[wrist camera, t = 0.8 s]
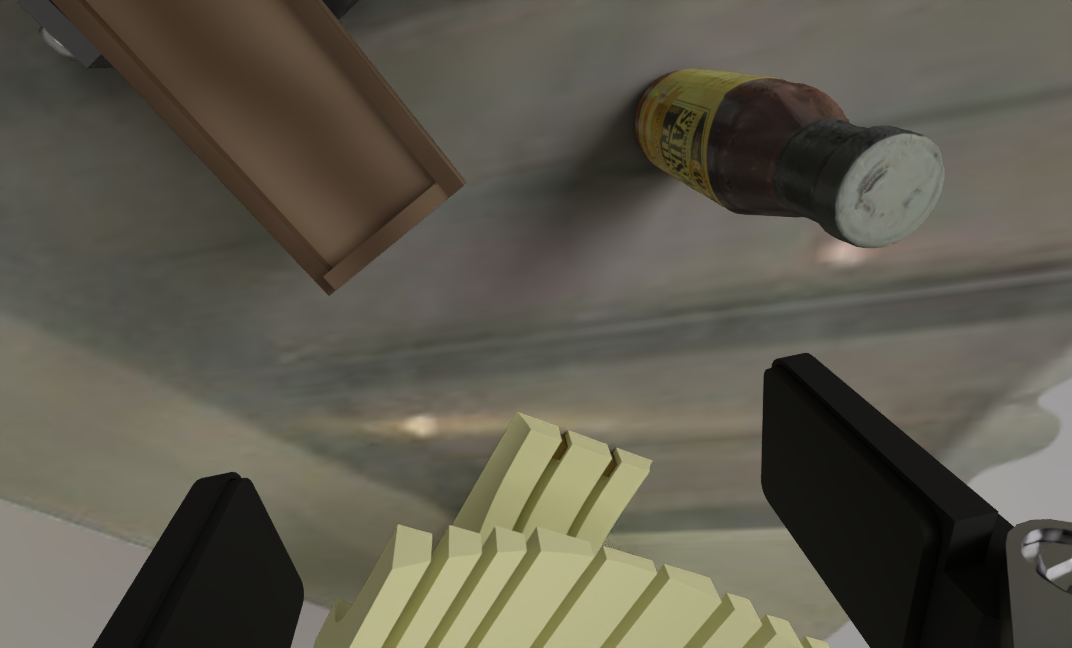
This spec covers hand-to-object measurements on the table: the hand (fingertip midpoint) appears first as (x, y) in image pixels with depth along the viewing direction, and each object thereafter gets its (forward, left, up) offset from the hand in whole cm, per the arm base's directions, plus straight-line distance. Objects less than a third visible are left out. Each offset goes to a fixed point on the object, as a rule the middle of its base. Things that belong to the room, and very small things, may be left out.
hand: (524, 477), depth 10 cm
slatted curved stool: (+14, +25, -29) cm, 41 cm away
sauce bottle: (-12, +6, -29) cm, 32 cm away
